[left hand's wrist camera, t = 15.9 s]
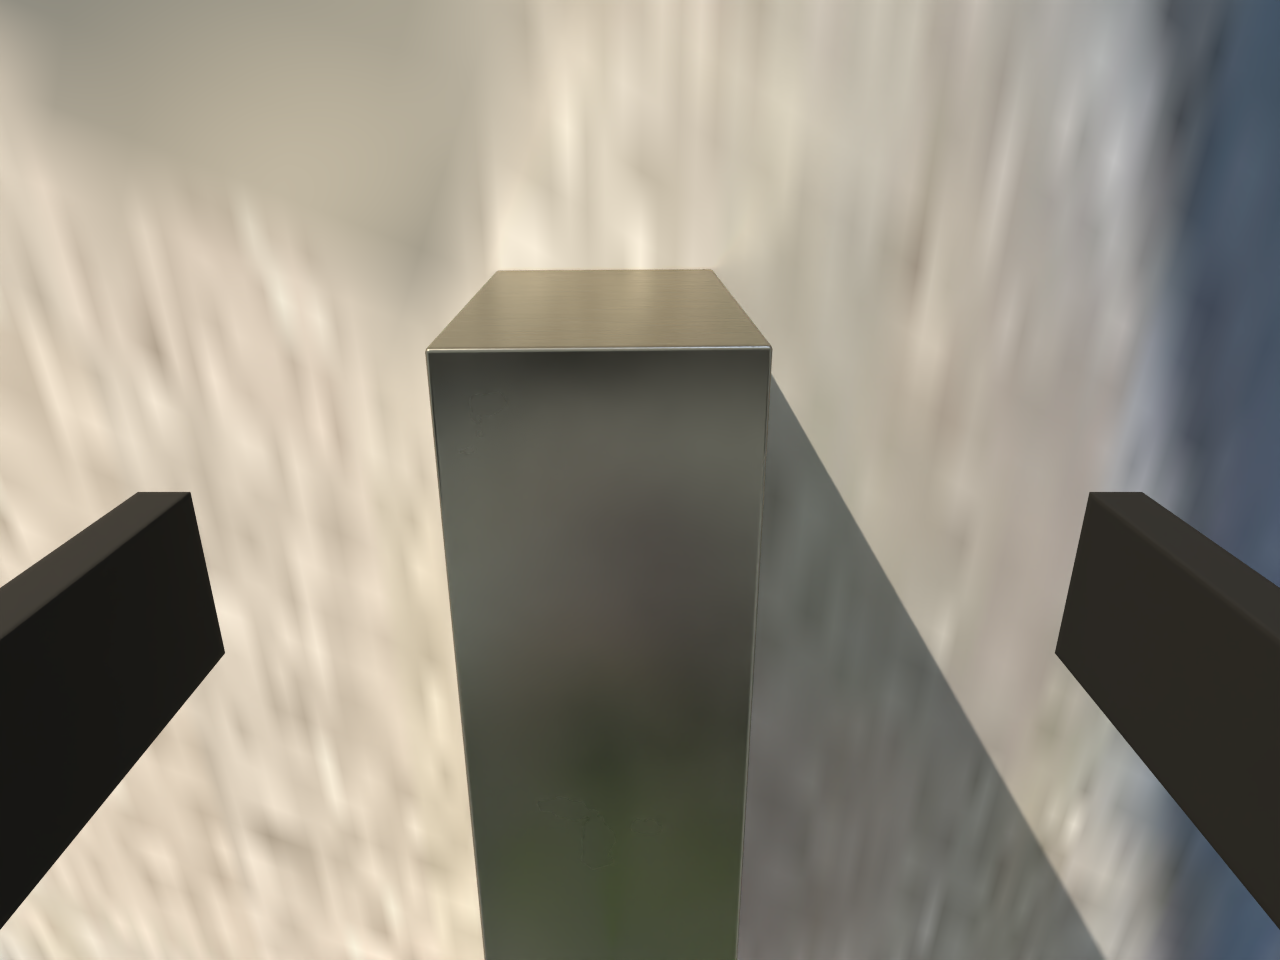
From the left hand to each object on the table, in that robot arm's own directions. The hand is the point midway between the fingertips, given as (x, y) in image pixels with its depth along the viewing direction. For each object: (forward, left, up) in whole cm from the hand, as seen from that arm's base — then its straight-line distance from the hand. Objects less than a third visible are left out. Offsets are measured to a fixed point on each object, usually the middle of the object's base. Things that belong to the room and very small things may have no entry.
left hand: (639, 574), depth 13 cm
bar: (+10, +1, -11) cm, 15 cm away
